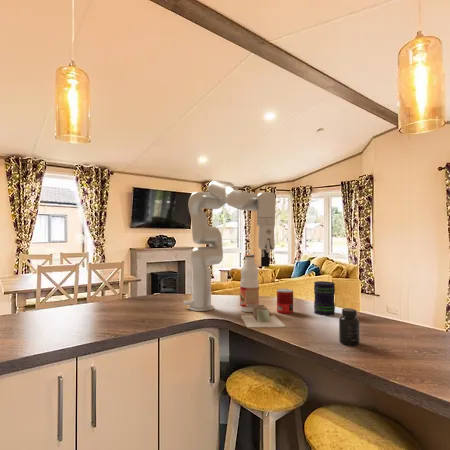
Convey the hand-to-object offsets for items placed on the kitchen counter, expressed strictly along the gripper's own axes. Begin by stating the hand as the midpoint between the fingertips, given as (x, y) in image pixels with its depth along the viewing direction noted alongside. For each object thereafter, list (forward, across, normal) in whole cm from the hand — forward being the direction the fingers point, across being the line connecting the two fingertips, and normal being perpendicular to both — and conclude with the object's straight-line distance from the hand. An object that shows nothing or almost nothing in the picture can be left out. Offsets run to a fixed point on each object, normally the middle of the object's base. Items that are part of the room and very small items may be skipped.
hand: (265, 266), depth 133 cm
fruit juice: (+26, +30, +1) cm, 40 cm away
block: (+22, +6, -1) cm, 23 cm away
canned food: (+26, +25, -16) cm, 39 cm away
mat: (+25, +9, -1) cm, 27 cm away
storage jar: (+25, +22, -35) cm, 49 cm away
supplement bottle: (+25, -21, -26) cm, 42 cm away
